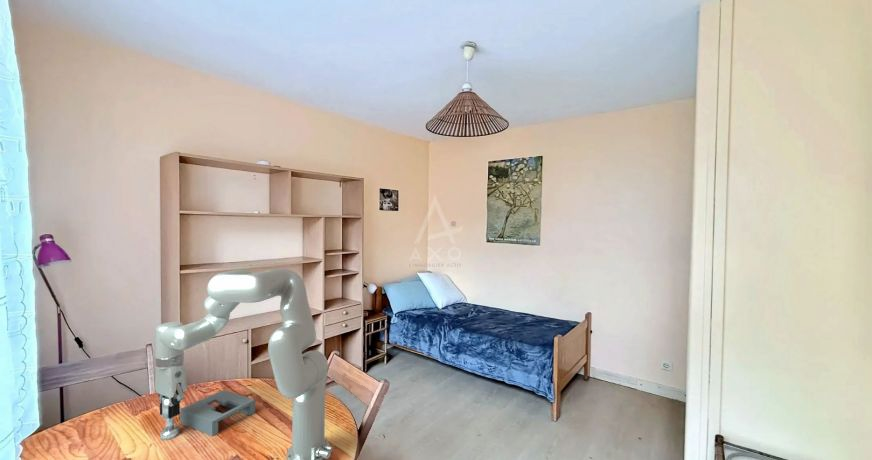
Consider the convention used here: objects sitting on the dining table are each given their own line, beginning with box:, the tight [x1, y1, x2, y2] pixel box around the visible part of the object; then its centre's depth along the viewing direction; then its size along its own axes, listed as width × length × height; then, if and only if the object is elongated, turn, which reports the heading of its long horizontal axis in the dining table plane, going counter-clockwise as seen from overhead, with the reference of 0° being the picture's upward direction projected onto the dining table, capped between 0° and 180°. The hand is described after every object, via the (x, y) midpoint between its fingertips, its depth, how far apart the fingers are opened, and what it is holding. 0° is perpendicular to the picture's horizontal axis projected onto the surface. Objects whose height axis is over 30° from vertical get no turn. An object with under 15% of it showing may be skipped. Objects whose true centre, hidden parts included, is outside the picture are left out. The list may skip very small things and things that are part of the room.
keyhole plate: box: [179, 389, 256, 437], centre depth 126 cm, size 18×16×5 cm
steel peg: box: [160, 393, 180, 441], centre depth 115 cm, size 5×5×13 cm
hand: (169, 414), depth 115 cm, fingers closed on steel peg, 4 cm apart
